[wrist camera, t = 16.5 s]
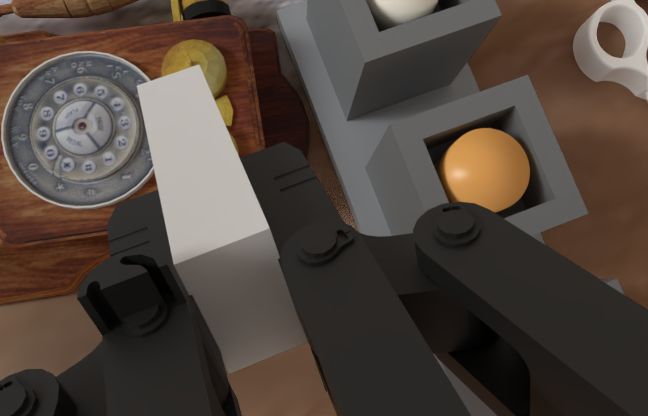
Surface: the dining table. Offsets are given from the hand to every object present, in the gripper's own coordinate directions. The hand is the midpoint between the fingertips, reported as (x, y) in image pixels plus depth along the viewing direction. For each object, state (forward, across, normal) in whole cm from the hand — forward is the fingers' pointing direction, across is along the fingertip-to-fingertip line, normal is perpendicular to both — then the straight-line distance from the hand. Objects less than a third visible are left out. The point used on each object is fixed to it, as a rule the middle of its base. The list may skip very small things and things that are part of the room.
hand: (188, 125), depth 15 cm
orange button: (+15, +15, -19) cm, 28 cm away
